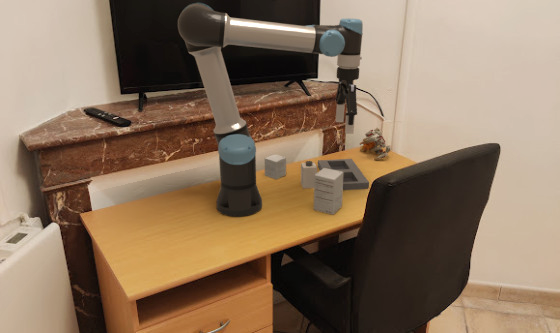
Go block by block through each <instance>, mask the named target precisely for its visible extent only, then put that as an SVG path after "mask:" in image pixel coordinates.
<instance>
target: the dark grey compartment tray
mask: <svg viewBox="0 0 560 333" xmlns="http://www.w3.org/2000/svg"><path fill="white" fill-rule="evenodd" d="M323 168H327V169H332V170H337V171H341V172H343V191H356V190H368V188H369V189H370V182H369V180H368V179H367V177H366V176H365V175H364V173H363V172H362V171H361V169H360V168H359V167H358V165H357V164H356V162H355V161H354V160H353V158H342V159H339V158H337V159H320V160H317V169H319V171H320V170H322V169H323Z"/></svg>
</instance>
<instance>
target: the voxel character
mask: <svg viewBox="0 0 560 333" xmlns="http://www.w3.org/2000/svg"><path fill="white" fill-rule="evenodd" d="M364 135H365V138H363V139H362V141H361V142H360V143H359V145H360V147H359V150H360V151H362V152H364V153H366V151H368V152H369V153H372V152H375V154H376V155H377V157H375V158H374V159H373V161H378V160H381V159H383V158H386V157H388V156H389V153H390V152H391V148H392V147H391V145H387V144H386V140H385V138H384V136H383V131H382V130H381V128H378V127H376V128H374V130H373V129H370V130H369V131H367V132H366V133H365V134H364ZM376 135H377V136H376ZM384 148H385V151H384ZM378 154H379V155H378Z"/></svg>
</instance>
